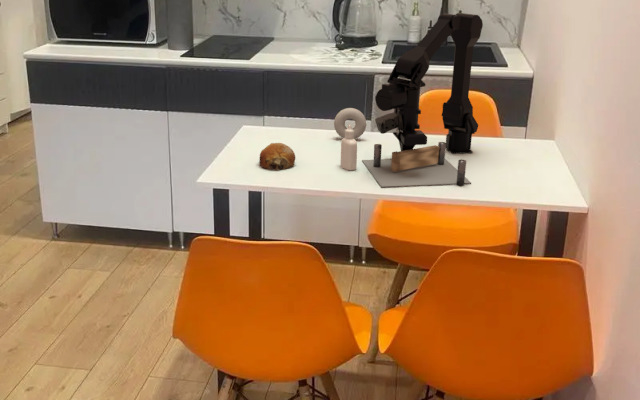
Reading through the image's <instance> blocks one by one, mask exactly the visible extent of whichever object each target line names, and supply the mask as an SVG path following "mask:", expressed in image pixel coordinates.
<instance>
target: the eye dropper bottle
mask: <svg viewBox="0 0 640 400" xmlns="http://www.w3.org/2000/svg"><path fill="white" fill-rule="evenodd" d="M347 128H348V129H346V130H345V138H341V141H340V167H341V168H342V169H344V170H347V171H355V170H357V167H358V166H357V163H358V162H357V161H358V160H357V159H358V142H357V141H356V139H354V130H353V128H352V124H348V126H347Z"/></svg>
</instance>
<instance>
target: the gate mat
mask: <svg viewBox="0 0 640 400" xmlns="http://www.w3.org/2000/svg"><path fill="white" fill-rule="evenodd" d="M391 161H392V158H381V167H373V162H374V159H362V160H361V162H362V163H363V165H364V166H365V168H366V169H367V170H368V171H369V173H370V174H371V176H372V177H373V179H374V180H375V181H376V183H377V184H378V185H379V187H380V188H381V189H385V188H386V189H387V188H388V189H389V188H409V187H410V188H411V187H413V188H415V187H436V186H438V187H439V186H458V185H457V183H456V182H457V171H458V168H456V167H455V166H454V165H453V164H452V163H451V162H450V161H448V159H446V158H445V159H444V165H438V164H431V165H426V166H421V167H415V168H410V169H405V170H400V171H396V172H394V171H392V170H391ZM464 185H472V182H471V181H470V180H469V179H468V178H467V177H466V176H465V181H464Z"/></svg>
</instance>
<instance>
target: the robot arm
mask: <svg viewBox="0 0 640 400" xmlns="http://www.w3.org/2000/svg"><path fill="white" fill-rule="evenodd" d="M483 25H484V24H483V20H482V18H481V17H480V15H478V14H471V13H462V12H457V13H455V14H453V13H452V14H451V13H443V14H440V15H439V16H438V17H437V20H436V22H435V23H434V25H433V26H432V27H431V28H430V29H429V31H428V32H427V33H426V35H424V36H423V38H422V39H421V40H420V41H419V43H418V44H417V45H416V46H415V47H414V48H411V49H409V50H407V51H405V52H404V53H403V54H402V55H401V56H399V57H398V59H397V60H396V62H395V64H394V67H393V69H392V71H391V72H390V75H389V77H388V79H387V80H386V81H387V83H382V85H381V88H380V89H379V90H377V91H376V95H375V97H374V98H375V104H376V106H377V107H378V109H379V110H380V111H383V112H388V111H391V110H393V112H390V113H386V114H383V115H382V116H378V117H376V118H375V119H374V121H375V124H376V128H377V131H379V133H380V134H381V135H382V134H387V133H388V132H389V131H393V130H395V131H394V132H392V134H393V135H394V136H395V138H396V139H397V140H398V144H399V149H400V151H405V150H411V149H415V147H416V146H418V145H419V146H420V145H421V146H425V145H428V136H427V135H426V134H425V133H424V132H423V131H422V129H420V127H421V126H420V124H419V115H421V114H422V113H421V112H422V110H421V109H420V99H421V98H420V97H421V88H423V87H426V86H427V85H426V83H425V81H423V78H424V77H425V75H426V74H427V71H428V70H429V69H430V61H431V59H432V58H433V56H434V55H435V54H436V53H437V51H438V50H439V49H440V47H442V45H443V44H444V42H445V41H446V40H447V39H448V38H449V36H451V40H452V41H453V44H454V47H455V48H454V59H453V68H452V77H451V78H452V79H451V90H450V91H451V92H450V97H449V98H448V99H447V101H446V102H445V101H444V102H443V103H442V111H441V117H442V122H443V123H442V124H443V129H444V130H448V132H447V133H448V134H446V136H445V143H446V147H445V150H446V151H448V152H449V153H451V154H472V153H473V150H472V149H471V146H472V139H473V138H472V137H473V135H474V134H476V133H477V131H478V129H479V124H478V122H477V120H476V118H475V117H474V113H473V112H474V110H473V109H474V108H473V107H474V106H473V104H472V102H471V100H470V98H469V93H470V86H471V85H470V83H471V74H472V73H471V72H472V63H473V53H474V46H475V45H476V44H477V42H478V41H479V39H481V34H482V29H483Z"/></svg>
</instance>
